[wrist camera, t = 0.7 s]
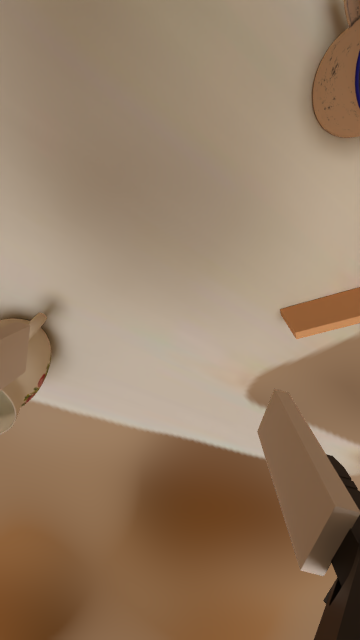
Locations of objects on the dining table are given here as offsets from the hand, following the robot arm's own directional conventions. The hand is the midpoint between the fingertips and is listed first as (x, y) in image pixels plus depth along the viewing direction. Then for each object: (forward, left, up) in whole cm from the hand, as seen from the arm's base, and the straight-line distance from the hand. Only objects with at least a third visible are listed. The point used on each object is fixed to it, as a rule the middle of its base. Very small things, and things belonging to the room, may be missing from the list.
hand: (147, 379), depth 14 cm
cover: (+13, +22, -23) cm, 34 cm away
